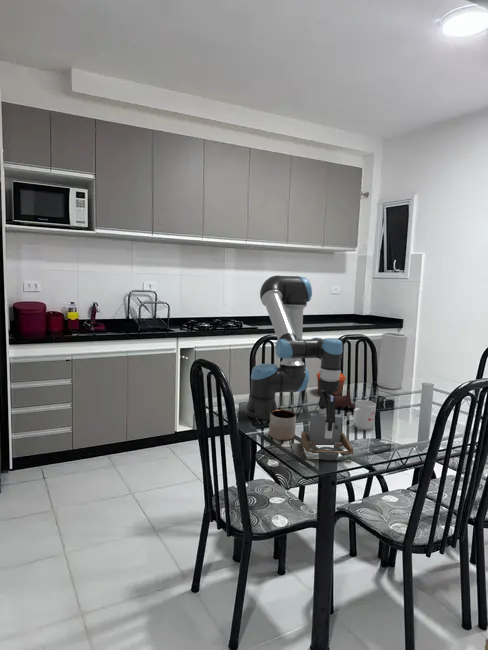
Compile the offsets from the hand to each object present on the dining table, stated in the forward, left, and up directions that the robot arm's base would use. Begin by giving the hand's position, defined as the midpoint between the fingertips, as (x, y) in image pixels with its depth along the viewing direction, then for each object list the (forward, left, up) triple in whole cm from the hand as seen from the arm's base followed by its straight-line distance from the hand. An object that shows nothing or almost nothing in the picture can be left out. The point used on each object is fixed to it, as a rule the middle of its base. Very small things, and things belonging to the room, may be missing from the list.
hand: (324, 431), depth 180 cm
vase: (+58, +92, -7) cm, 109 cm away
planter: (-16, +10, -7) cm, 20 cm away
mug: (+22, +23, -7) cm, 32 cm away
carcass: (0, -4, -7) cm, 8 cm away
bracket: (+22, +48, -7) cm, 53 cm away
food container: (+18, +72, -7) cm, 74 cm away
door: (0, 0, -5) cm, 5 cm away
